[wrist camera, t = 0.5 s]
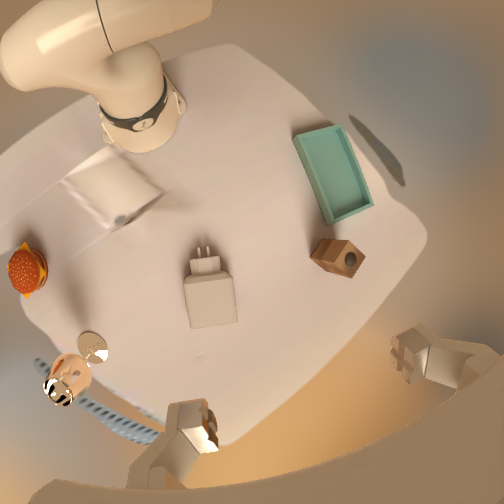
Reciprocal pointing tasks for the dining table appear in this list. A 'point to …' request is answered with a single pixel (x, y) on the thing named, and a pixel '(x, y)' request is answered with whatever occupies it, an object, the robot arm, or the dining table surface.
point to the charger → (209, 293)
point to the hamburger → (27, 270)
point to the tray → (333, 172)
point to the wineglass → (74, 370)
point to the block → (338, 257)
